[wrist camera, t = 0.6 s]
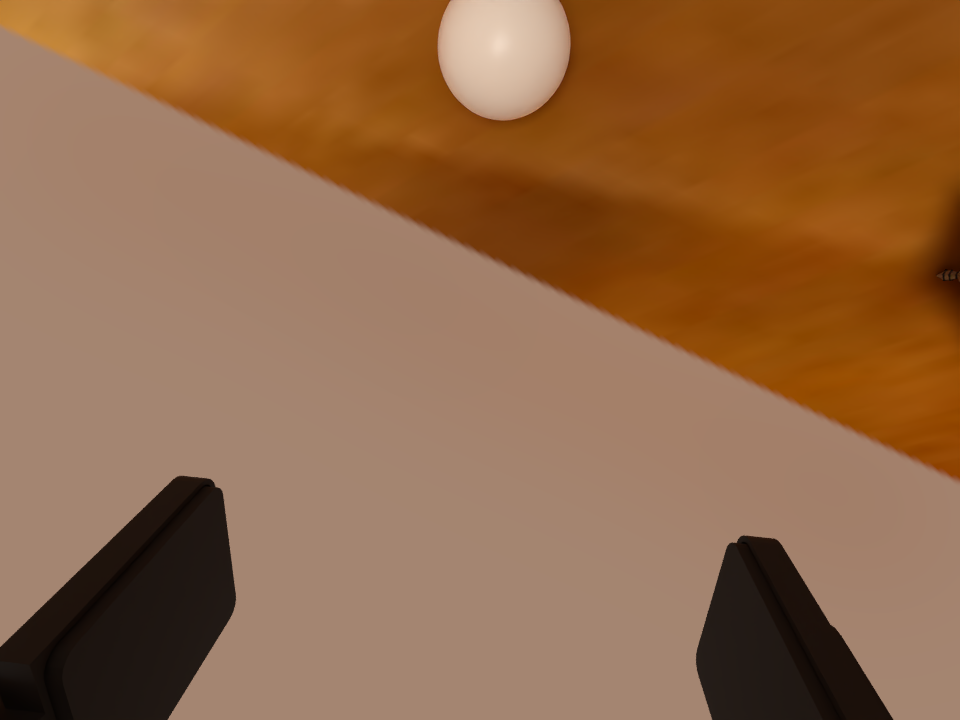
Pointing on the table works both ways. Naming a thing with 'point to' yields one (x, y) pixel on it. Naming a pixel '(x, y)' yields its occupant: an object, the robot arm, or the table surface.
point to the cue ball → (503, 54)
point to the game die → (949, 275)
